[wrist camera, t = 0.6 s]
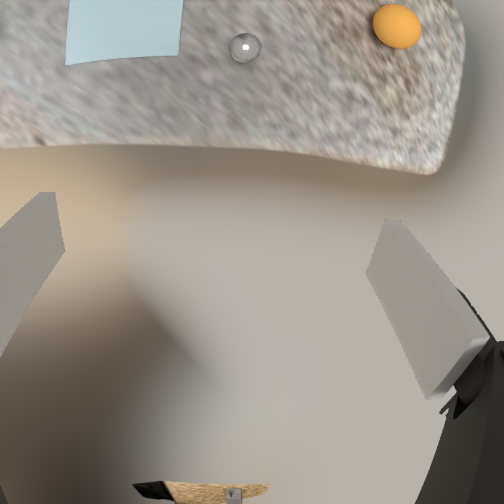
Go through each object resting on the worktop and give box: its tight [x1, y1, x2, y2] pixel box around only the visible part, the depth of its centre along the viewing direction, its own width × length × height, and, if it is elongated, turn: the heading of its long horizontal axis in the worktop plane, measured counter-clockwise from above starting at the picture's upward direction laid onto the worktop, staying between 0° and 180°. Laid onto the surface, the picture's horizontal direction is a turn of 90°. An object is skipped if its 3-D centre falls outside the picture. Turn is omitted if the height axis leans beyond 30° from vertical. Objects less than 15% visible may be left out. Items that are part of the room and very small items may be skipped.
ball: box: [373, 4, 421, 49], centre depth 25 cm, size 6×6×6 cm
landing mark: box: [65, 0, 184, 66], centre depth 25 cm, size 14×14×1 cm
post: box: [230, 33, 261, 63], centre depth 26 cm, size 3×3×8 cm
